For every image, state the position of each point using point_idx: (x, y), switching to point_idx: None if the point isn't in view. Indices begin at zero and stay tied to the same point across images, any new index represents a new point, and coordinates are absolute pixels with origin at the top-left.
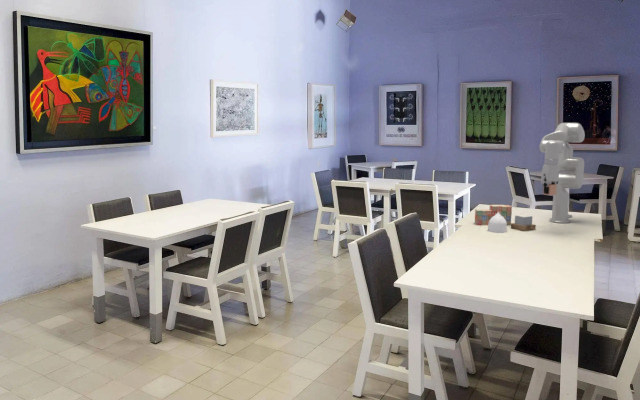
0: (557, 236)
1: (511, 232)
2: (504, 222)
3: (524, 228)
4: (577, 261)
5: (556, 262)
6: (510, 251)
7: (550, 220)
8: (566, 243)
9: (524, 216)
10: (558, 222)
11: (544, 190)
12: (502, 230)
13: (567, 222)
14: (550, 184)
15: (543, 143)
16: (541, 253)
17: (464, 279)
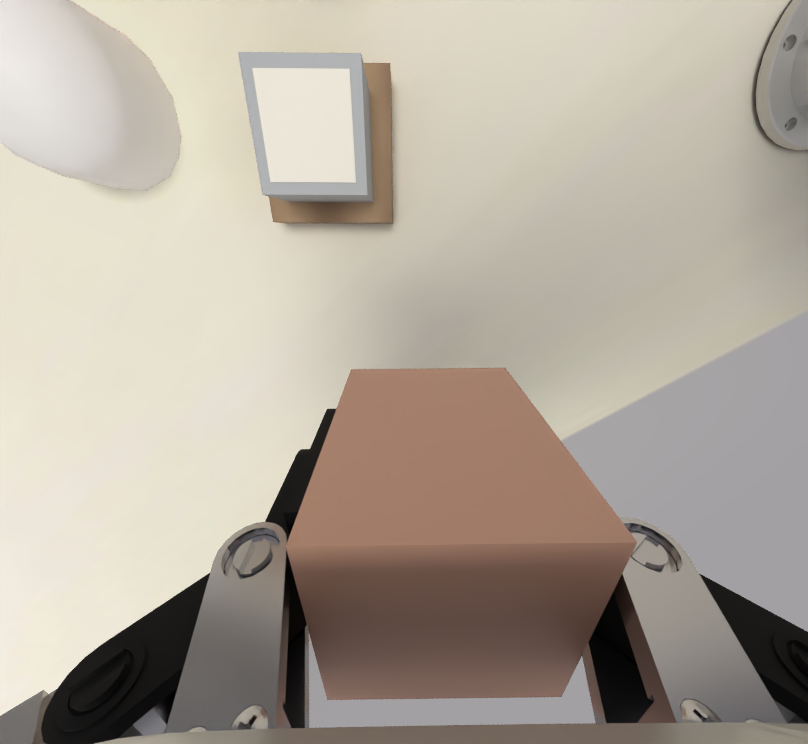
0: None
1: (188, 213)
2: (75, 167)
3: (288, 222)
4: None
5: (109, 594)
6: (8, 487)
7: (793, 5)
8: None
9: (293, 160)
10: (757, 108)
11: (292, 477)
12: (109, 185)
13: (800, 149)
14: (461, 639)
15: None
16: (116, 535)
17: None
